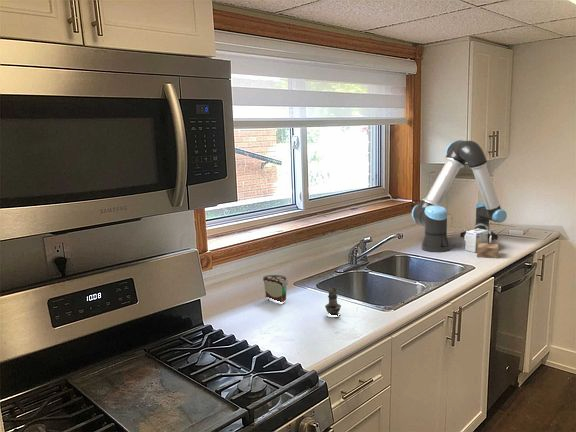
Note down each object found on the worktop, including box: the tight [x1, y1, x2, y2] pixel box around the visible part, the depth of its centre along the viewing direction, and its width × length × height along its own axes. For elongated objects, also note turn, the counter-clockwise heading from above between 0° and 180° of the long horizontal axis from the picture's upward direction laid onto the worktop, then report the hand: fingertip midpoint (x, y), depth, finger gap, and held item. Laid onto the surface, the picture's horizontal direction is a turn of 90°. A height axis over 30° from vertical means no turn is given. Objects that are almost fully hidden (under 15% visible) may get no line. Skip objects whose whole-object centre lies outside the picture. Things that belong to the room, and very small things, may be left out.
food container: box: [262, 274, 289, 302], centre depth 191 cm, size 12×6×10 cm, turn 44°
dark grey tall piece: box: [324, 284, 342, 316], centre depth 173 cm, size 6×6×12 cm
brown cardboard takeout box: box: [476, 242, 499, 259], centre depth 243 cm, size 10×10×5 cm
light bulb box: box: [464, 228, 489, 253], centre depth 253 cm, size 11×7×11 cm, turn 123°
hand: (477, 239), depth 251 cm, fingers open, 12 cm apart
